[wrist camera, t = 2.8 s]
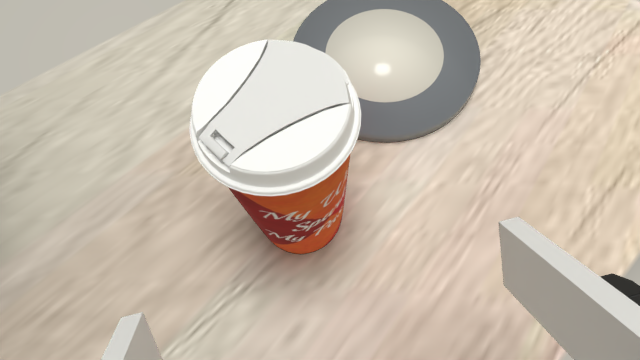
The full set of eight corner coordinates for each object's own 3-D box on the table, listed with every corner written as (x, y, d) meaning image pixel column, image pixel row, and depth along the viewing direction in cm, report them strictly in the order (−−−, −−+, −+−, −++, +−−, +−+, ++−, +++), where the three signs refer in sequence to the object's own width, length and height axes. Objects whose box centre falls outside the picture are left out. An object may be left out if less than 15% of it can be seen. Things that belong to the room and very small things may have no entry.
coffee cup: (300, 294, 31) (263, 222, 18) (225, 217, 34) (143, 104, 21) (380, 212, 34) (402, 93, 20) (304, 146, 36) (277, 2, 23)
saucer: (315, 163, 36) (314, 155, 34) (275, 17, 42) (273, 6, 41) (507, 115, 36) (512, 107, 35) (438, -21, 43) (440, -32, 42)
